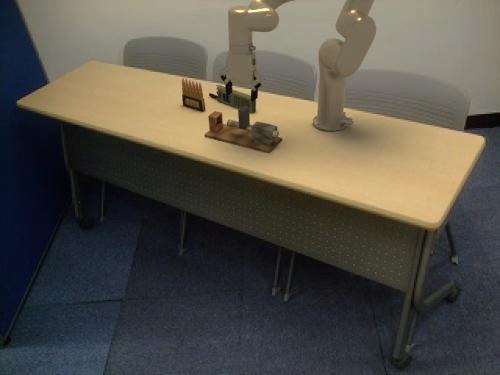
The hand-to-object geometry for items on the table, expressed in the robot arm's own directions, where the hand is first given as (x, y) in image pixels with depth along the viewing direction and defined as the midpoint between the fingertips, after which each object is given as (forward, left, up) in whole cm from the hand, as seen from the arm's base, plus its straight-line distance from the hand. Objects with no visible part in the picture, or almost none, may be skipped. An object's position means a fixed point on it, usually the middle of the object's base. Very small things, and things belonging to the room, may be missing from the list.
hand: (241, 97), depth 162 cm
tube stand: (0, 0, -16) cm, 16 cm away
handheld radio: (+19, -23, -17) cm, 34 cm away
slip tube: (-4, 0, -13) cm, 13 cm away
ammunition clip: (+31, -13, -17) cm, 37 cm away
